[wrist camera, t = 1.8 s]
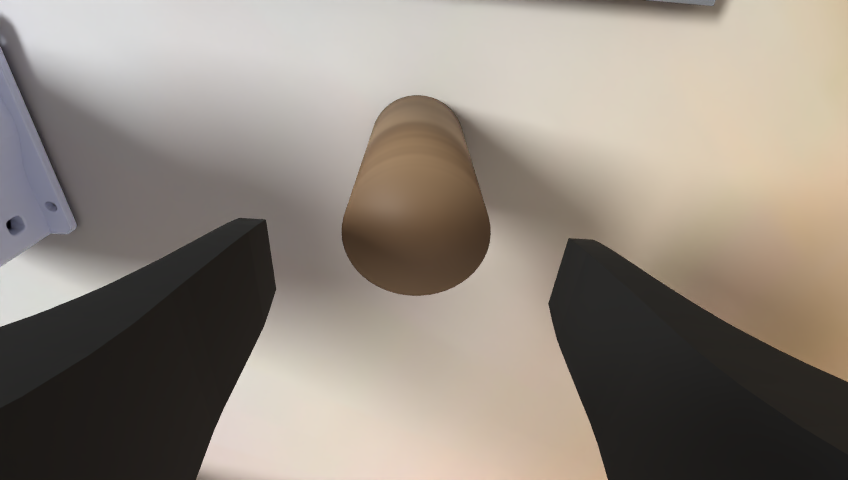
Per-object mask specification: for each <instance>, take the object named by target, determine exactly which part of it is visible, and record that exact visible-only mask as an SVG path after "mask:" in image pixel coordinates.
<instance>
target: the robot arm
mask: <svg viewBox="0 0 848 480" xmlns="http://www.w3.org/2000/svg"><path fill="white" fill-rule="evenodd" d="M52 203H54V204H55V205H56V206H57V207H56V206H54V205H53V204H52ZM76 227H77V225H76V222H75V219H74V217H73V215H72V212H71V210H70V208H69V205H68V203H67V201H66V198H65V196H64V194H63V191H62V189H61V187H60V184H59V182H58V180H57V177H56V175H55V173H54V170H53V168H52V166H51V163H50V161H49V159H48V156H47V154H46V152H45V149H44V147H43V145H42V142H41V140H40V138H39V135H38V133H37V131H36V128H35V126H34V124H33V121H32V119H31V117H30V114H29V112H28V110H27V107H26V105H25V103H24V100H23V98H22V96H21V93H20V91H19V89H18V86H17V84H16V82H15V79H14V77H13V75H12V72H11V70H10V68H9V65H8V63H7V61H6V58H5V56H4V54H3V51H2V49H1V47H0V267H1V266H3V265H4V264H6V263H7V262H9V261H10V260H12V259H13V258H15V257H16V256H18V255H19V254H21V253H22V252H24V251H25V250H27V249H28V248H30V247H31V246H33V245H34V244H36V243H37V242H39V241H40V240H42V239H43V238H45V237H46V236H48V235H49V234H50V233H51V234H69V233H70V232H72V231H73V230H75V229H76ZM275 291H276V285H275V279H274V272H273V265H272V258H271V251H270V244H269V238H268V231H267V224H266V220H263V219H247V218H238V219H236V220H233V221H231V222H229V223H227V224H225V225H223V226H221V227H219V228H217V229H215V230H213V231H211V232H210V233H208V234H206V235H204V236H202V237H200V238H199V239H197V240H195V241H193V242H191V243H189V244H187V245H186V246H184V247H182V248H180V249H178V250H176V251H174V252H172V253H171V254H169V255H167V256H165V257H163V258H161V259H159V260H157V261H155V262H153V263H151V264H149V265H147V266H145V267H143V268H141V269H139V270H137V271H135V272H133V273H131V274H129V275H127V276H125V277H123V278H121V279H119V280H117V281H115V282H113V283H110V284H108V285H106V286H104V287H102V288H99V289H97V290H95V291H92V292H90V293H88V294H86V295H83V296H81V297H78V298H76V299H73V300H71V301H69V302H66V303H64V304H61V305H59V306H56V307H54V308H51V309H49V310H46V311H44V312H41V313H38V314H36V315H33V316H30V317H28V318H25V319H22V320H19V321H16V322H13V323H10V324H7V325H5V326H2V327H0V480H196V478H197V475H198V472H199V470H200V467H201V464H202V461H203V459H204V456H205V453H206V451H207V448H208V445H209V443H210V440H211V437H212V435H213V432H214V429H215V427H216V425H217V422H218V420H219V418H220V416H221V413H222V411H223V409H224V407H225V405H226V403H227V401H228V399H229V397H230V395H231V393H232V391H233V389H234V387H235V385H236V383H237V381H238V378H239V376H240V374H241V372H242V370H243V368H244V366H245V364H246V362H247V360H248V358H249V356H250V354H251V352H252V350H253V348H254V346H255V344H256V342H257V340H258V338H259V336H260V333H261V331H262V329H263V327H264V325H265V322H266V319H267V316H268V313H269V310H270V307H271V304H272V301H273V297H274V294H275ZM548 304H549V308H550V313H551V317H552V322H553V326H554V330H555V334H556V337H557V341H558V343H559V346H560V349H561V351H562V354H563V356H564V359H565V361H566V364H567V367H568V369H569V372H570V374H571V376H572V379H573V381H574V384H575V386H576V389H577V391H578V394H579V396H580V399H581V401H582V404H583V406H584V409H585V411H586V414H587V416H588V419H589V421H590V424H591V426H592V429H593V432H594V435H595V438H596V440H597V443H598V447H599V450H600V453H601V457H602V460H603V464H604V467H605V471H606V474H607V478H608V480H848V382H846V381H844V380H842V379H840V378H837V377H835V376H833V375H831V374H829V373H826V372H824V371H822V370H820V369H817V368H815V367H813V366H811V365H809V364H806V363H804V362H802V361H800V360H798V359H796V358H794V357H792V356H790V355H788V354H786V353H783V352H781V351H779V350H777V349H775V348H774V347H772V346H770V345H768V344H766V343H764V342H762V341H760V340H758V339H756V338H754V337H752V336H750V335H749V334H747V333H745V332H743V331H741V330H739V329H737V328H735V327H734V326H732V325H730V324H728V323H726V322H725V321H723V320H721V319H719V318H718V317H716V316H714V315H713V314H711V313H709V312H708V311H706V310H704V309H703V308H701V307H699V306H698V305H696V304H694V303H693V302H691V301H689V300H688V299H686V298H685V297H683V296H681V295H680V294H678V293H677V292H675V291H673V290H672V289H670V288H669V287H667V286H666V285H664V284H663V283H661V282H660V281H658V280H656V279H655V278H653V277H652V276H650V275H649V274H647V273H646V272H644V271H643V270H641V269H640V268H638V267H637V266H635V265H634V264H632V263H631V262H629V261H628V260H626V259H625V258H623V257H622V256H620V255H619V254H617V253H616V252H614V251H612V250H611V249H609V248H608V247H606V246H604V245H602V244H601V243H599V242H597V241H595V240H588V239H571V238H569V239H568V242H567V245H566V249H565V252H564V255H563V258H562V262H561V265H560V268H559V271H558V274H557V278H556V281H555V284H554V287H553V291H552V294H551V297H550V300H549V303H548Z"/></svg>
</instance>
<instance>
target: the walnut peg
mask: <svg viewBox="0 0 848 480" xmlns="http://www.w3.org/2000/svg"><path fill="white" fill-rule="evenodd" d="M490 235H491V233H490V222H489V217H488V214H487V210H486V207H485V204H484V201H483V197H482V194H481V191H480V187H479V184H478V181H477V178H476V174H475V171H474V168H473V164H472V161H471V158H470V155H469V151H468V148H467V145H466V141H465V138H464V135H463V132H462V128H461V125H460V123H459V121H458V119H457V117H456V116H455V114H454V113H453V112H452V111H451V109H450V108H449V107H447V106H446V105H445V104H444V103H442V102H440V101H439V100H436V99H434V98H431V97H428V96H421V95H414V96H407V97H403V98H400V99H398V100H396V101H394V102H393V103H391V104H390V105H388V106H387V107H386V108H385V109H384V110H383V111H382V112H381V114H380V115H379V116H378V118H377V120H376V122H375V125H374V127H373V130H372V133H371V136H370V139H369V142H368V145H367V148H366V151H365V154H364V157H363V160H362V163H361V166H360V169H359V172H358V175H357V178H356V181H355V184H354V187H353V190H352V193H351V196H350V199H349V202H348V205H347V208H346V211H345V214H344V217H343V223H342V241H343V245H344V249H345V252H346V254H347V256H348V258H349V260H350V262H351V263H352V265H353V266H354V267H355V268H356V270H357V271H358V272H359V273H360V274H361V275H362V276H363V277H364V278H366V279H367V280H368V281H370V282H371V283H373V284H375V285H376V286H378V287H380V288H382V289H385V290H387V291H390V292H393V293H398V294H403V295H412V296H421V295H430V294H435V293H439V292H442V291H446V290H448V289H450V288H453V287H455V286H456V285H458V284H460V283H462V282H463V281H464V280H466V279H467V278H468V277H469V276H470V275H472V274H473V273H474V272H475V270H476V269H477V268H478V267H479V265H480V264H481V262H482V261H483V259H484V257H485V255H486V253H487V250H488V247H489V243H490Z"/></svg>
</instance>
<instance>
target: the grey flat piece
mask: <svg viewBox="0 0 848 480" xmlns="http://www.w3.org/2000/svg"><path fill="white" fill-rule="evenodd" d="M648 1H659V2H670V3H681V4H692V5H707V6H714V3H715V0H648Z"/></svg>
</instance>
